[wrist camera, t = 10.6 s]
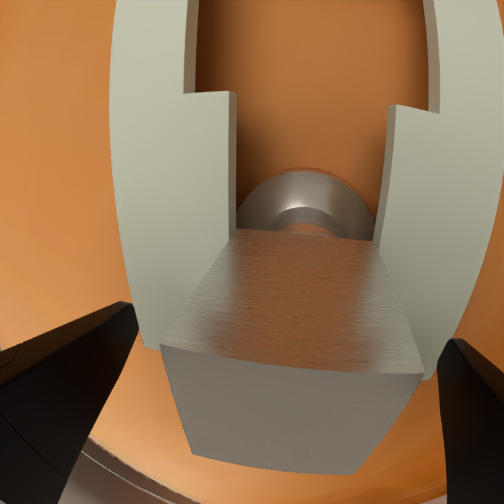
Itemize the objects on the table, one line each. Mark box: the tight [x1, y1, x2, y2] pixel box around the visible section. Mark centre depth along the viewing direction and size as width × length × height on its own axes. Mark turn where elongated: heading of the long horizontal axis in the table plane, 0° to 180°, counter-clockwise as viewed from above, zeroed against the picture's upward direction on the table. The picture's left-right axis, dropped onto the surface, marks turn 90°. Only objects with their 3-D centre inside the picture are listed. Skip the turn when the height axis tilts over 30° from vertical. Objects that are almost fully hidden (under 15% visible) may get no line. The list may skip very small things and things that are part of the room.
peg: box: [159, 168, 425, 475], centre depth 9 cm, size 6×6×10 cm
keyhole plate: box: [109, 0, 504, 380], centre depth 10 cm, size 20×14×4 cm
